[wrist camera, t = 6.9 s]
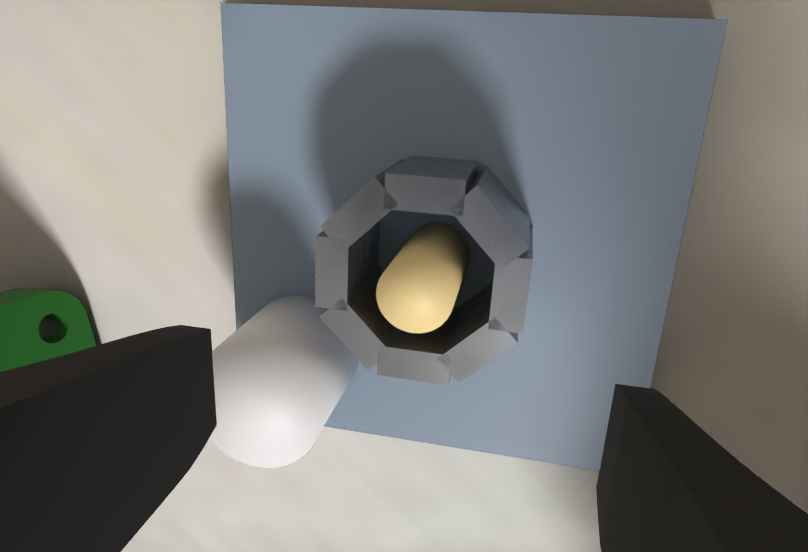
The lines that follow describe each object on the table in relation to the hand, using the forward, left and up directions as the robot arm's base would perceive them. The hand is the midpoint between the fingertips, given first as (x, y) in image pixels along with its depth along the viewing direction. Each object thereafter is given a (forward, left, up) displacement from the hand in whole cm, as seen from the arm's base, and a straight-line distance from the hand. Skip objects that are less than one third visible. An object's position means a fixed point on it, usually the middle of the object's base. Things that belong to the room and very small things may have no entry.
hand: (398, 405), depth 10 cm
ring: (0, +1, -9) cm, 9 cm away
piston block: (0, +1, -10) cm, 10 cm away
